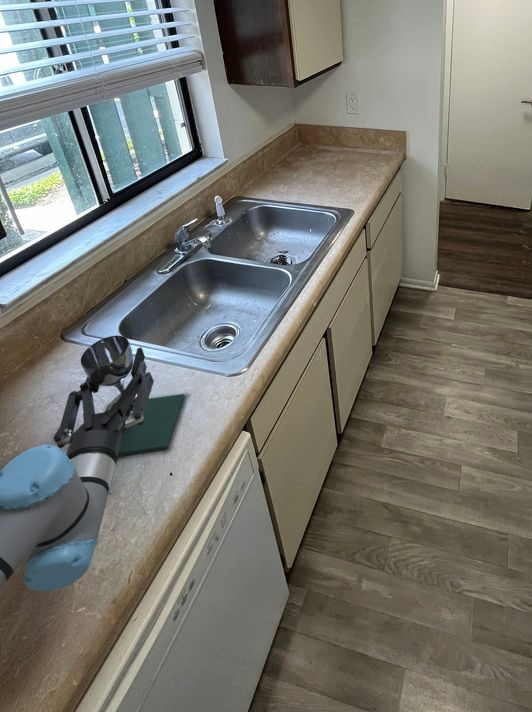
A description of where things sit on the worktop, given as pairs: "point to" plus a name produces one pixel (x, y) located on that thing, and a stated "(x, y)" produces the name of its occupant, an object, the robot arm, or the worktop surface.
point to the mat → (153, 426)
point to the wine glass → (109, 364)
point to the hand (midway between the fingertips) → (121, 357)
